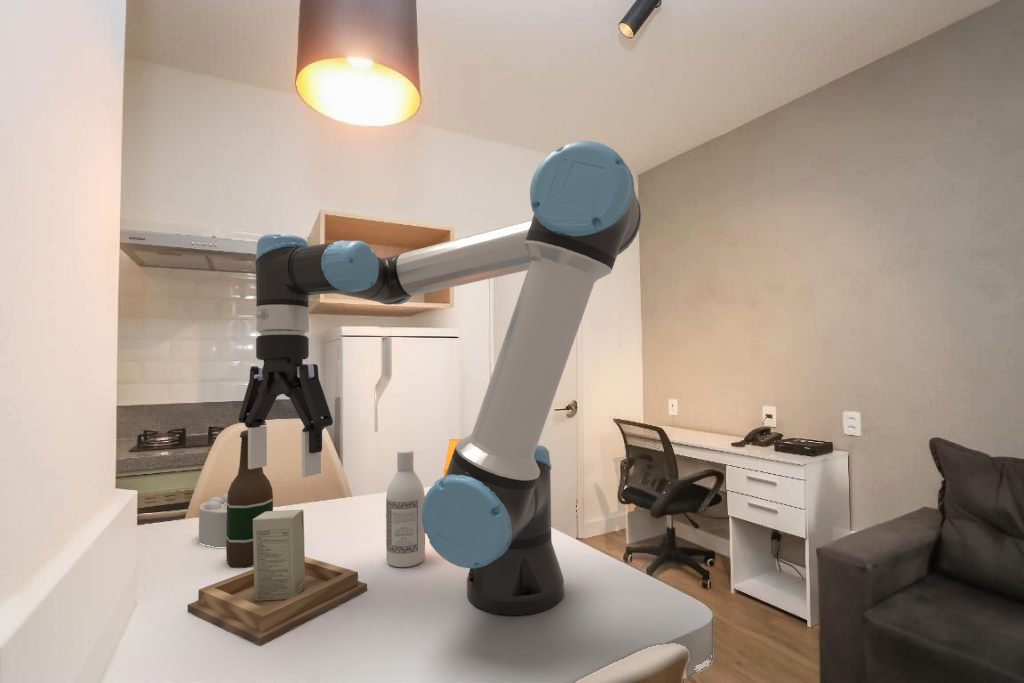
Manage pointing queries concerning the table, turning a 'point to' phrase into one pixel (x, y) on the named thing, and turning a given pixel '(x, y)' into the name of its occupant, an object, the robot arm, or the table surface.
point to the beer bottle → (245, 508)
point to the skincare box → (278, 555)
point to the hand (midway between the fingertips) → (283, 471)
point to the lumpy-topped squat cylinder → (213, 521)
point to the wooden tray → (275, 602)
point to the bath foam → (405, 515)
